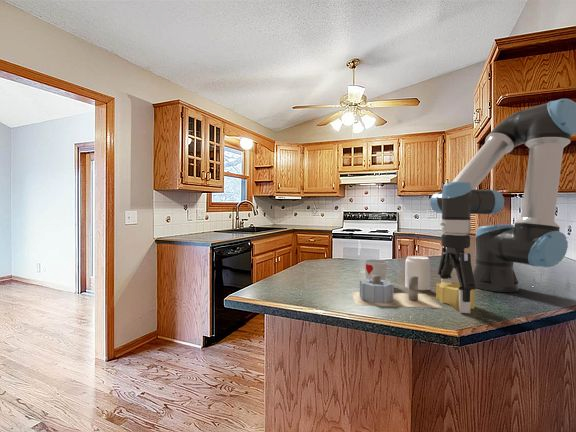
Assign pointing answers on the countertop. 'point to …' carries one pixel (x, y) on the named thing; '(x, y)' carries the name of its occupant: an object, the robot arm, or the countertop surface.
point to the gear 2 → (451, 294)
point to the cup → (376, 268)
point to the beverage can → (418, 271)
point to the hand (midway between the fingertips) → (454, 305)
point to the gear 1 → (376, 291)
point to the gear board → (401, 296)
